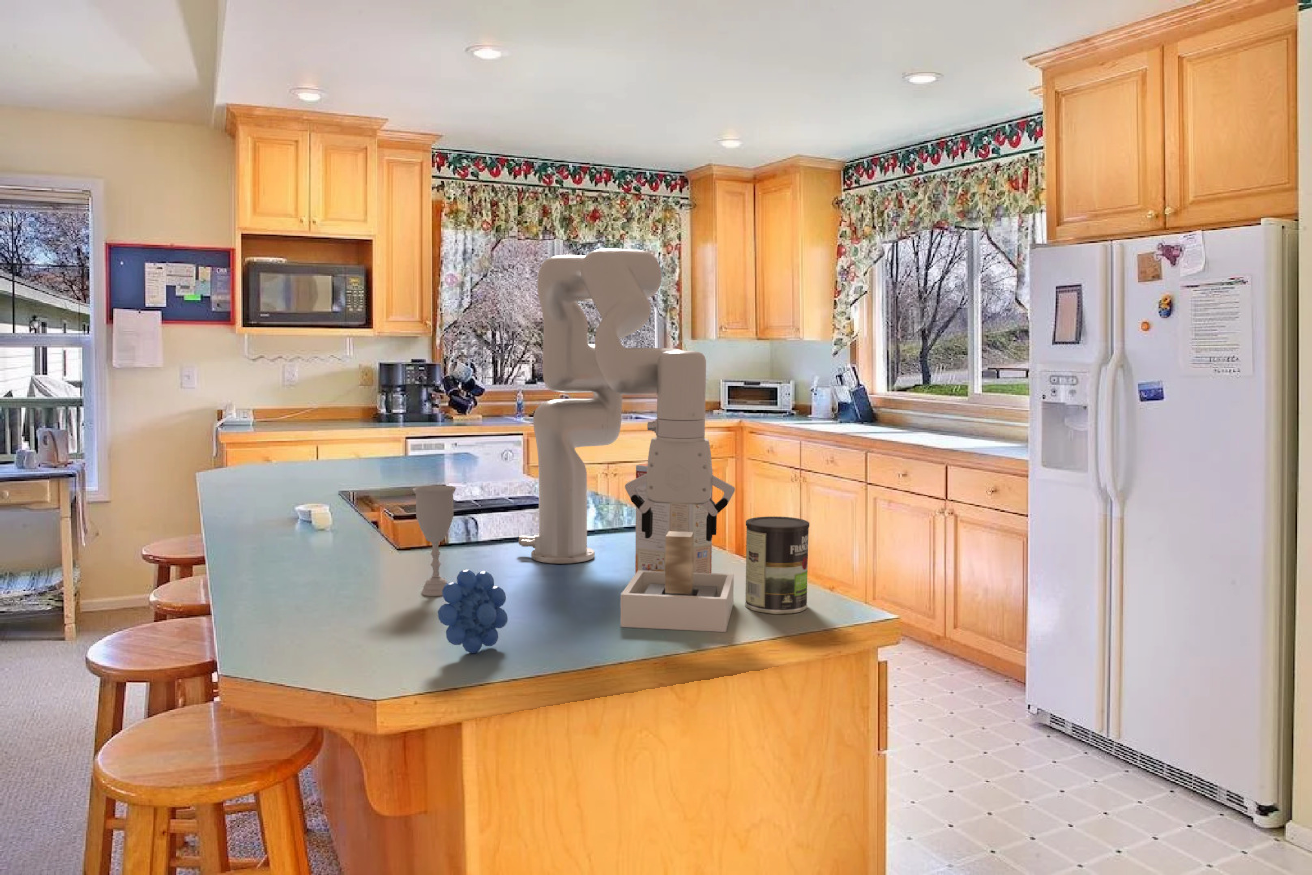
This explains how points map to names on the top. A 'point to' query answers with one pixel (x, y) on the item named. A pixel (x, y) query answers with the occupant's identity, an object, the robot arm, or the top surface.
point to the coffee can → (776, 564)
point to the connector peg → (679, 563)
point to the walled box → (678, 603)
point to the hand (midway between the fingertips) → (678, 538)
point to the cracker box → (666, 520)
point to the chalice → (434, 527)
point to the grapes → (473, 610)
